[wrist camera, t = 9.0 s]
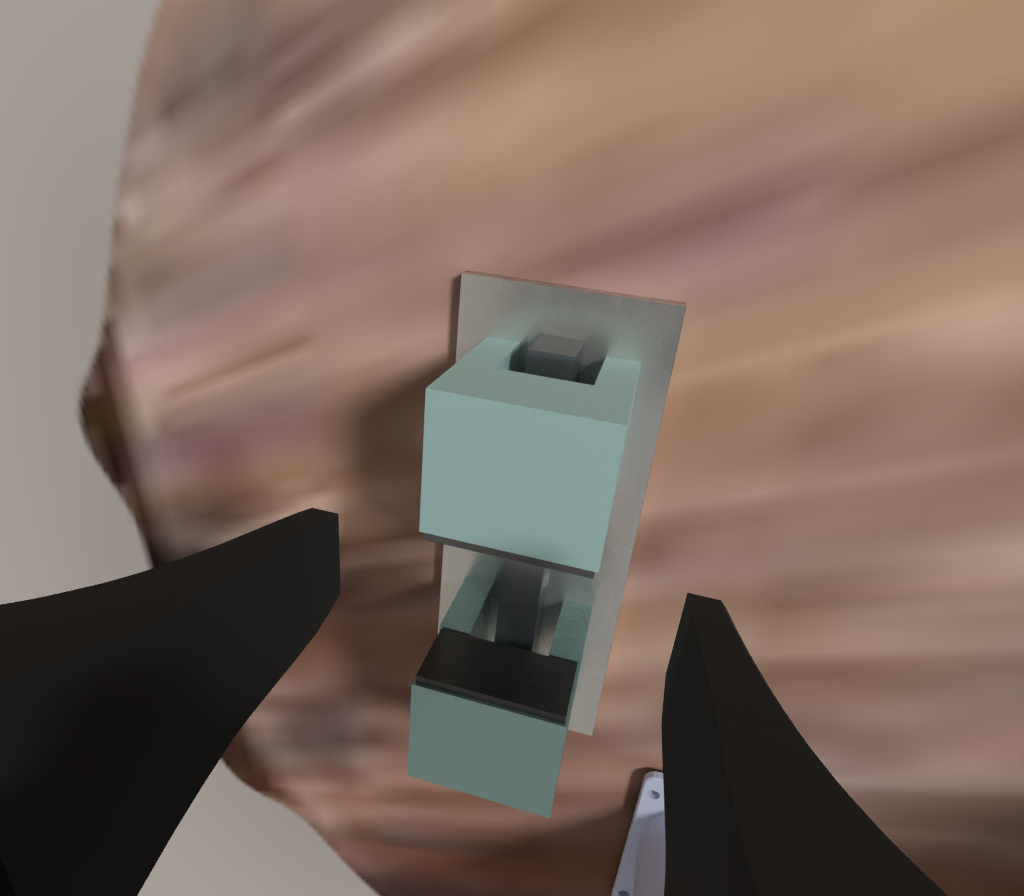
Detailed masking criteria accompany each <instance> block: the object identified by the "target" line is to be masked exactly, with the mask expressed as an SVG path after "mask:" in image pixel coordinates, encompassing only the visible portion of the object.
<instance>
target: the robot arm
mask: <svg viewBox="0 0 1024 896" xmlns="http://www.w3.org/2000/svg"><path fill="white" fill-rule="evenodd" d="M339 594H340V563H339V521H338V514H337V513H332V512H328V511H323V510H319V509H314V508H311V509H307V510H304V511H301V512H299V513H296V514H293V515H291V516H288V517H286V518H283V519H281V520H278V521H276V522H273V523H271V524H269V525H266V526H264V527H261V528H259V529H257V530H254V531H252V532H249V533H247V534H244V535H242V536H239V537H237V538H235V539H232V540H230V541H227V542H225V543H222V544H220V545H217V546H215V547H212V548H209V549H207V550H204V551H201V552H198V553H196V554H193V555H190V556H188V557H185V558H182V559H180V560H177V561H174V562H171V563H169V564H166V565H163V566H160V567H157V568H154V569H150V570H147V571H144V572H141V573H138V574H135V575H131V576H128V577H124V578H120V579H117V580H113V581H110V582H106V583H103V584H98V585H94V586H89V587H85V588H81V589H76V590H72V591H67V592H63V593H59V594H54V595H50V596H45V597H41V598H36V599H31V600H25V601H19V602H14V603H8V604H2V605H0V896H137V895H138V893H139V891H140V890H141V888H142V886H143V885H144V883H145V881H146V879H147V878H148V876H149V874H150V872H151V871H152V869H153V867H154V866H155V864H156V862H157V860H158V859H159V857H160V855H161V853H162V852H163V850H164V848H165V847H166V845H167V843H168V841H169V840H170V838H171V836H172V834H173V833H174V831H175V829H176V828H177V826H178V824H179V823H180V821H181V820H182V818H183V816H184V815H185V813H186V812H187V810H188V808H189V807H190V805H191V803H192V802H193V800H194V799H195V797H196V795H197V794H198V792H199V790H200V789H201V787H202V785H203V784H204V782H205V781H206V779H207V778H208V776H209V775H210V773H211V772H212V770H213V769H214V767H215V766H216V764H217V763H218V761H219V759H220V758H221V756H222V755H223V753H224V752H225V750H226V749H227V747H228V746H229V744H230V743H231V741H232V740H233V738H234V737H235V735H236V734H237V733H238V731H239V730H240V729H241V727H242V726H243V725H244V723H245V722H246V721H247V719H248V718H249V717H250V715H251V714H252V713H253V712H254V710H255V709H256V708H257V707H258V706H259V704H260V703H261V702H262V701H263V699H264V698H265V697H266V696H267V694H268V693H269V692H270V691H271V689H272V688H273V687H274V686H275V684H276V683H277V682H278V681H279V679H280V678H281V677H282V676H283V675H284V673H285V672H286V671H287V670H288V668H289V667H290V666H291V665H292V663H293V662H294V661H295V660H296V658H297V657H298V656H299V655H300V653H301V652H302V651H303V650H304V648H305V647H306V646H307V644H308V643H309V642H310V641H311V639H312V638H313V637H314V635H315V634H316V633H317V631H318V630H319V628H320V626H321V625H322V623H323V622H324V620H325V618H326V617H327V615H328V613H329V612H330V610H331V608H332V606H333V605H334V603H335V601H336V599H337V598H338V596H339ZM662 756H663V773H661V772H657V771H651V772H648V773H646V774H645V776H644V779H643V783H642V786H641V790H640V793H639V797H638V800H637V804H636V807H635V811H634V815H633V818H632V822H631V825H630V829H629V832H628V836H627V839H626V843H625V847H624V850H623V854H622V857H621V861H620V864H619V868H618V872H617V875H616V879H615V882H614V886H613V889H612V893H611V896H947V895H946V894H945V893H944V892H943V891H942V890H941V889H940V888H939V887H938V886H937V885H936V884H935V883H933V882H932V881H931V880H930V879H929V878H928V877H927V876H926V875H925V874H924V873H923V872H922V871H921V870H920V869H919V868H918V867H917V866H916V865H915V864H914V863H912V862H911V861H910V859H909V858H908V857H907V856H906V855H905V854H904V853H903V852H902V851H901V850H900V849H899V848H898V847H897V846H896V845H895V844H894V843H893V842H892V841H891V840H890V839H889V838H888V837H887V836H886V835H885V834H884V833H883V832H882V831H881V830H880V829H879V828H878V827H877V825H876V824H875V823H874V822H873V821H872V820H871V819H870V818H869V817H868V816H867V815H866V813H865V812H864V811H863V810H862V809H861V808H860V807H859V806H858V805H857V804H856V803H855V802H854V800H853V799H852V798H851V797H850V796H849V795H848V794H847V792H846V791H845V790H844V789H843V788H842V787H841V785H840V784H839V783H838V782H837V781H836V780H835V778H834V777H833V776H832V775H831V773H830V772H829V771H828V770H827V768H826V767H825V766H824V765H823V763H822V762H821V761H820V760H819V758H818V757H817V756H816V755H815V753H814V752H813V751H812V750H811V748H810V747H809V746H808V744H807V743H806V742H805V740H804V739H803V737H802V736H801V735H800V733H799V732H798V730H797V729H796V727H795V726H794V725H793V723H792V722H791V720H790V719H789V717H788V716H787V714H786V713H785V711H784V710H783V708H782V707H781V705H780V704H779V702H778V701H777V699H776V697H775V696H774V694H773V693H772V691H771V689H770V688H769V686H768V684H767V683H766V681H765V679H764V678H763V676H762V674H761V673H760V671H759V669H758V668H757V666H756V664H755V663H754V661H753V659H752V657H751V656H750V654H749V652H748V650H747V648H746V646H745V645H744V643H743V641H742V639H741V637H740V635H739V633H738V631H737V629H736V627H735V625H734V623H733V621H732V619H731V617H730V615H729V613H728V611H727V609H726V607H725V606H724V604H723V603H722V601H721V600H717V599H713V598H708V597H704V596H699V595H695V594H690V593H687V597H686V601H685V605H684V608H683V612H682V616H681V620H680V623H679V627H678V631H677V635H676V638H675V642H674V646H673V650H672V654H671V657H670V661H669V665H668V669H667V672H666V679H665V690H664V701H663V713H662ZM651 790H652V791H651Z"/></svg>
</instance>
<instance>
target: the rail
mask: <svg viewBox="0 0 1024 896" xmlns="http://www.w3.org/2000/svg"><path fill="white" fill-rule="evenodd" d="M685 310H686V303H679V302H673V301H666V300H659V299H652V298H646V297H639V296H632V295H625V294H619V293H612V292H605V291H598V290H592V289H585V288H578V287H571V286H565V285H558V284H551V283H545V282H538V281H531V280H524V279H518V278H511V277H504V276H497V275H491V274H484V273H477V272H470V271H465V272H463V273H461V288H460V304H459V319H458V334H457V349H456V363H457V362H458V361H459V360H460V359H462V358H463V357H464V356H465V355H466V354H468V353H469V352H470V351H471V350H472V349H474V348H475V347H476V346H477V345H478V344H480V343H481V342H482V341H483V340H484V339H486V338H487V337H490V338H496V339H502V340H508V341H514V342H520V347H519V356H518V365H517V372H521V373H526V374H532V375H538V376H543V377H549V378H555V379H560V380H566V381H572V382H577V383H583V384H589V385H594V384H595V382H596V380H597V377H598V375H599V373H600V370H601V368H602V365H603V363H604V361H605V358H606V357H609V358H615V359H621V360H627V361H633V362H639V363H641V365H640V371H639V376H638V381H637V386H636V391H635V396H634V401H633V406H632V411H631V416H630V421H629V426H628V431H627V437H626V442H625V447H624V452H623V457H622V462H621V467H620V472H619V477H618V482H617V487H616V492H615V497H614V502H613V507H612V511H611V516H610V521H609V526H608V530H607V535H606V539H605V544H604V549H603V554H602V559H601V563H600V568H599V573H597V572H595V574H594V579H591V578H587V577H582V576H578V575H574V574H569V573H565V572H561V571H557V570H552V569H548V568H544V567H539V566H535V565H531V564H526V563H522V562H518V561H514V560H509V559H505V558H501V557H496V556H492V555H488V554H484V553H479V552H475V551H471V550H466V549H462V548H458V547H453V546H449V545H445V544H444V547H443V562H442V577H441V592H440V607H439V623H438V635H437V637H436V639H435V641H434V643H433V645H432V647H431V649H430V650H429V652H428V654H427V656H426V658H425V660H424V662H423V664H422V666H421V667H420V669H419V671H418V673H417V675H416V677H415V679H414V681H413V683H412V686H411V708H410V730H409V753H408V775H409V776H412V777H416V778H419V779H422V780H425V781H429V782H432V783H435V784H438V785H442V786H445V787H448V788H451V789H455V790H458V791H461V792H465V793H468V794H471V795H474V796H478V797H481V798H484V799H487V800H491V801H494V802H497V803H500V804H504V805H507V806H510V807H514V808H517V809H520V810H523V811H527V812H530V813H533V814H536V815H540V816H543V817H546V818H549V819H550V815H551V810H552V805H553V800H554V795H555V791H556V786H557V781H558V776H559V771H560V766H561V761H562V756H563V752H564V747H565V742H566V737H567V732H568V730H572V731H575V732H579V733H583V734H586V735H590V736H592V733H593V728H594V724H595V719H596V715H597V710H598V706H599V701H600V697H601V692H602V688H603V683H604V678H605V674H606V669H607V665H608V660H609V656H610V651H611V647H612V642H613V638H614V633H615V628H616V624H617V619H618V615H619V610H620V606H621V601H622V597H623V592H624V587H625V583H626V578H627V574H628V569H629V565H630V560H631V556H632V551H633V547H634V542H635V537H636V533H637V528H638V524H639V519H640V515H641V510H642V506H643V501H644V497H645V492H646V487H647V483H648V478H649V474H650V469H651V465H652V460H653V456H654V451H655V446H656V442H657V437H658V433H659V428H660V424H661V419H662V415H663V410H664V406H665V401H666V396H667V392H668V387H669V383H670V378H671V374H672V369H673V365H674V360H675V356H676V351H677V346H678V342H679V337H680V333H681V328H682V324H683V319H684V315H685Z"/></svg>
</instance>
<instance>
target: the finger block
mask: <svg viewBox="0 0 1024 896" xmlns="http://www.w3.org/2000/svg"><path fill="white" fill-rule="evenodd" d="M519 347H520V342H514V341H508V340H502V339H496V338H490V337H487V338H486V339H484V340H483V341H482V342H481V343H480V344H478V345H477V346H476V347H475V348H474V349H472V350H471V351H470V352H469V353H468V354H466V355H465V356H464V357H463V358H462V359H460V360H459V361H458V362H457V363H456V364H454V365H453V366H452V367H451V368H450V369H448V370H447V371H446V372H445V373H443V374H442V375H441V376H440V377H439V378H437V379H436V380H435V381H434V382H433V383H431V384H430V385H429V386H428V387H427V388H426V394H425V415H424V437H423V459H422V481H421V503H420V525H419V532H424V539H423V540H428V541H432V542H436V543H441V544H445V545H449V546H453V547H458V548H462V549H466V550H471V551H475V552H479V553H484V554H488V555H492V556H496V557H501V558H505V559H509V560H514V561H518V562H522V563H526V564H531V565H535V566H539V567H544V568H548V569H552V570H557V571H561V572H565V573H569V574H574V575H578V576H582V577H587V578H591V579H594V574H595V572H597V573H599V568H600V563H601V559H602V554H603V549H604V544H605V539H606V535H607V530H608V526H609V521H610V516H611V511H612V507H613V502H614V497H615V492H616V487H617V482H618V477H619V472H620V467H621V462H622V457H623V452H624V447H625V442H626V437H627V431H628V426H629V421H630V416H631V411H632V406H633V401H634V396H635V391H636V386H637V381H638V376H639V371H640V365H641V363H639V362H633V361H627V360H621V359H615V358H609V357H606V358H605V361H604V363H603V365H602V368H601V370H600V373H599V375H598V377H597V380H596V382H595V384H594V385H589V384H583V383H577V382H572V381H566V380H560V379H555V378H549V377H543V376H538V375H532V374H526V373H521V372H517V365H518V356H519Z"/></svg>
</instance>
